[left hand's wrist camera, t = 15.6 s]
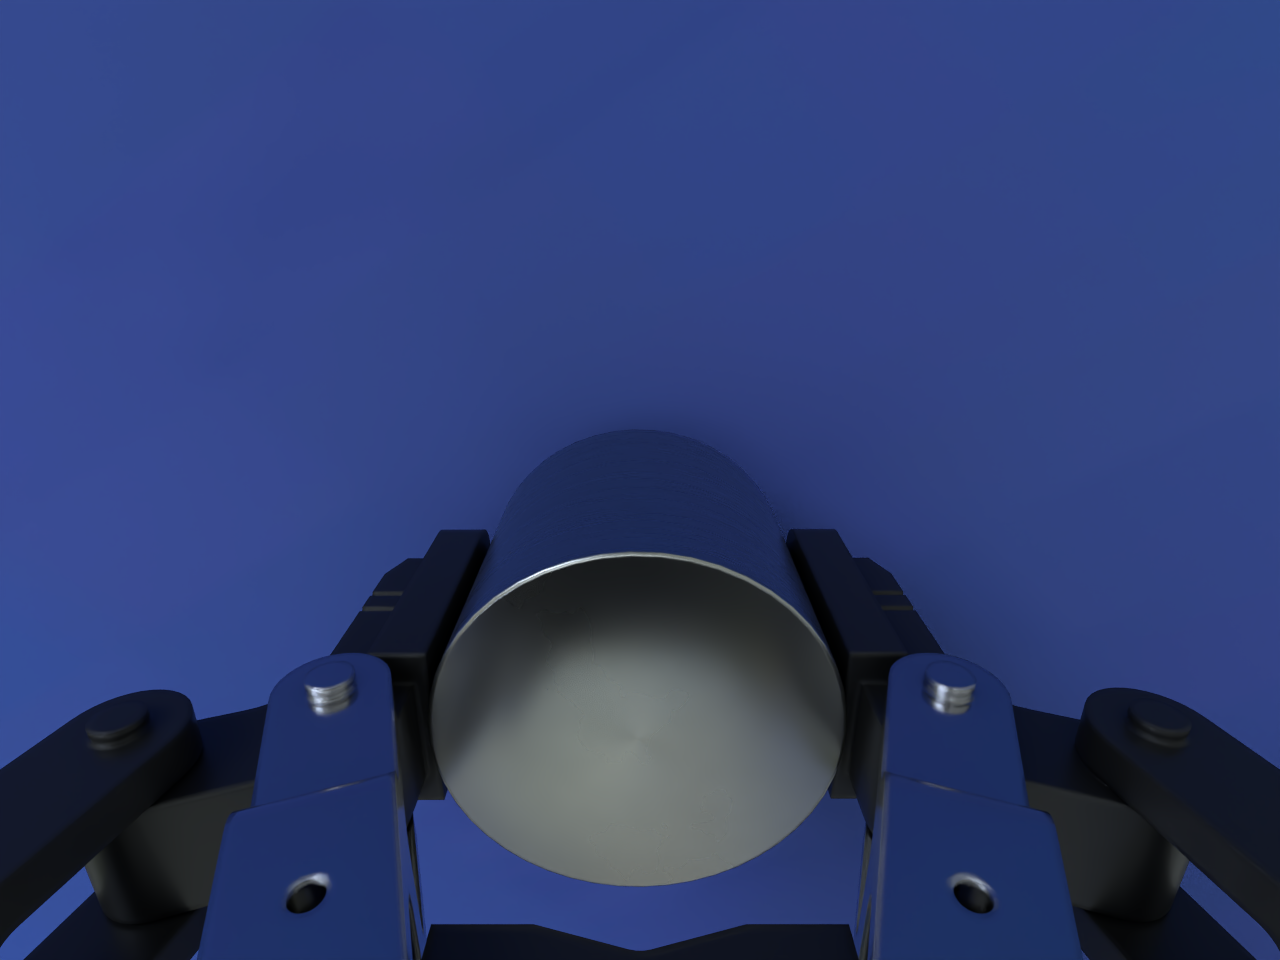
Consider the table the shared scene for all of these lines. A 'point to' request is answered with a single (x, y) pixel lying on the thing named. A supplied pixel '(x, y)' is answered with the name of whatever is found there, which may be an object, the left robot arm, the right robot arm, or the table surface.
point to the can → (637, 670)
